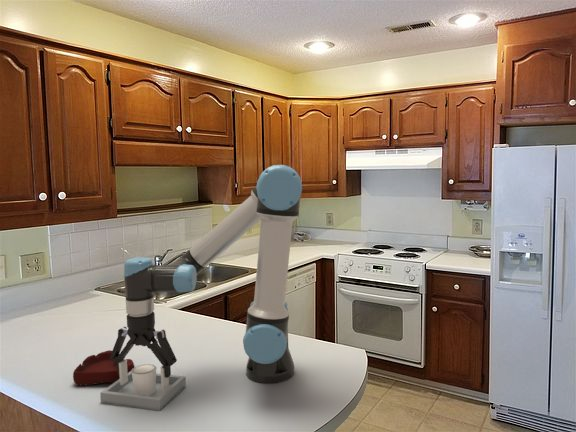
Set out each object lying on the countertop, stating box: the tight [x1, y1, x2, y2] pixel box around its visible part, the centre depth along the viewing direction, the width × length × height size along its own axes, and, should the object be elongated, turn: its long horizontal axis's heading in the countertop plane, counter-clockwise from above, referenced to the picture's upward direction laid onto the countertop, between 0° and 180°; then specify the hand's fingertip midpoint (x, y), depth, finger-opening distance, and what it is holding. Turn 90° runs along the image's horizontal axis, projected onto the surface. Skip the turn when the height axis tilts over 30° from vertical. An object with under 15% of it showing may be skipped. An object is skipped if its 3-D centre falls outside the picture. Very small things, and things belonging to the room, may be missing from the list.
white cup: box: [131, 363, 157, 396], centre depth 129 cm, size 7×7×7 cm
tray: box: [100, 371, 187, 412], centre depth 129 cm, size 18×14×3 cm
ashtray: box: [72, 350, 135, 386], centre depth 141 cm, size 18×16×5 cm
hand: (144, 385), depth 129 cm, fingers open, 13 cm apart
